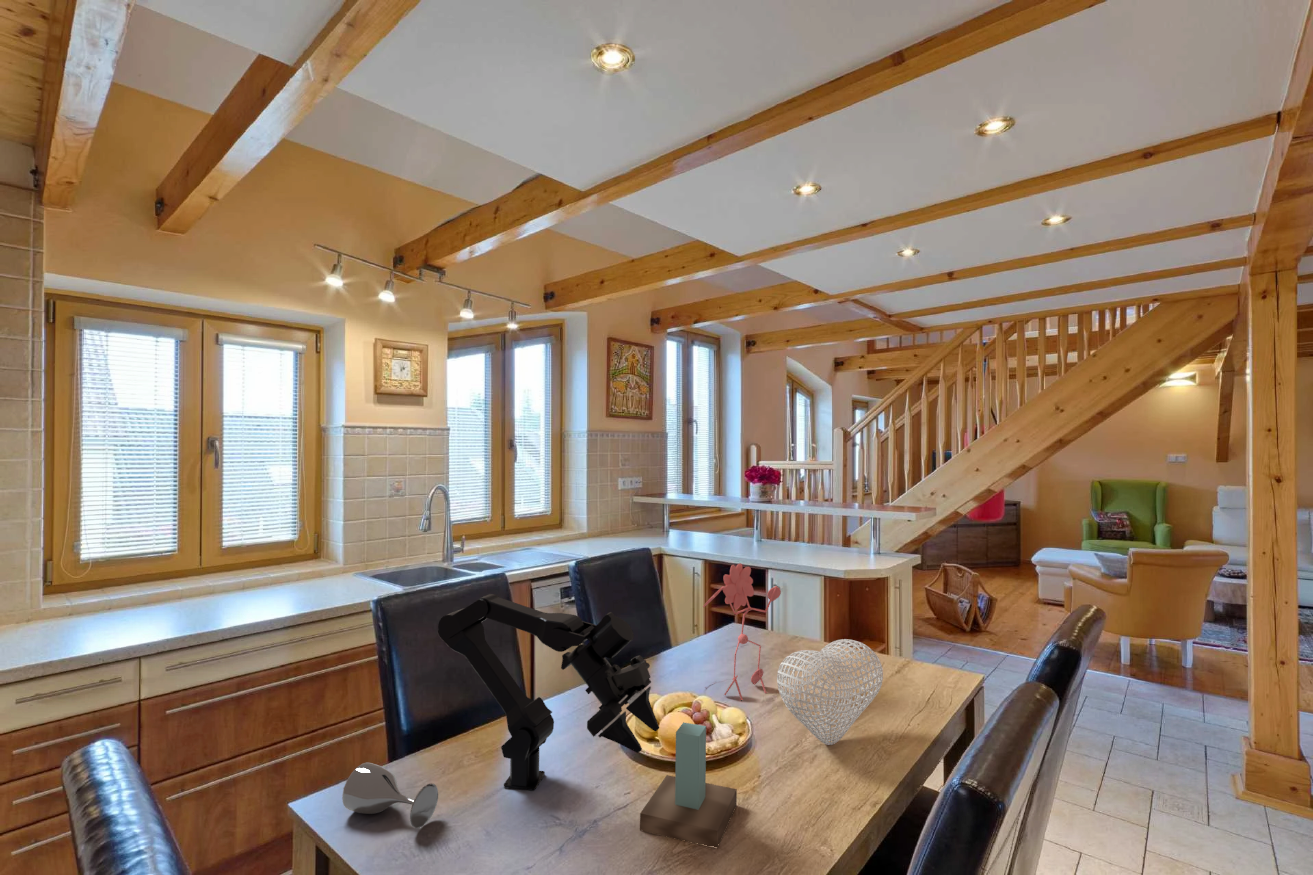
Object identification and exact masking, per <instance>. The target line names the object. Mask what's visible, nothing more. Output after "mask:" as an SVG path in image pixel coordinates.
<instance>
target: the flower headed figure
mask: <svg viewBox="0 0 1313 875" xmlns="http://www.w3.org/2000/svg"><path fill="white" fill-rule="evenodd" d="M751 572H752V569H751V567H750V566H745V567H744V568H743V564H742V563H741V562H740V563H737V565H735V564H732V565H731V566H730V569H729V574H724V575H723V579H722V580H723V583H724V585H725V586H721V587H720V588H719V589H718V590H716V591H715V592H714V594H712V596H711V597H710V598H708V600H707V601H706V602H705V603H704V604H703V606H702V607H703V608H705V607H706V606H707V605H709V603H711V602H712V601H713V600H714V599H715V598H716V597H717V596H718V595H719V594H720V593H721V591H722V592H723V594H724V595H725V598H724V602H725V604H726V605H729V606H730V608H731V611H732V613H733V615H734V616H736V615H739V614H741V613H743V612H744V613H743V615H742V623H741V633H740V635H738V637H737V641H738V642H737V646H736V649H735V652H734V657H733V658H734V660H733V678H732V681H731V683H730V684H729V686H728V688H727V690H725V693H724V694H723V696H724V695H725V696H727V694H728V692H729V690H730V689H731V687H732V686H733V685H734V683H735V686H736V688H737V691H738V695H739V698H740V701H741V700H743V701H744V698H743V696H742V692H741V690H740V687H739V683H738V680H737V678H738V674H737V675H736V666H737V665H736V662H737V653H738V649H739V646H740V644H741V645H745V644H747V643H748V642H749V643H751V644H752V645H753V644H754V645H756V646H758V647H759V650H758V660H757V669H756V670H755V671H754V672H753V674H752V675H751V677H750V682H751V683H752V685H755V686H756V685H757V684H758V683H759V681H760V682H761V686H762V689H763V693H765V694H767V690H766V686H765V684H764V680H763V676H764V674H765V673H764V670H763V668H760V660H761V651H762V649H761V648H762V646H761V644H758V643H757V642H754V641H751V640H749V637H748V635H747V634H745V633H744V629H745V628H744V626H745V619H746V615H747V614H748V612H749V611H757V612H759V613H760V612H761V613H767V612H768V610H769V607H770V605H771V603H772V602H774V601H775V600H777V599H778V598H779V597H780V596H781V595H782V590H781V588H780V587H778V586H777V585H775V586H774V587H771V588H770V589H769V590H768V592H767V598H768V603H767V605H766V607H765V610H764V609H760V608H755V607H751V606H750V602H749V599H748V597H750V598H751V597H753V596H754V595H755V590H754V587H753V585H752V584H754V579H753V578H752V577H751V576H750V575H751ZM746 605H747V607H745V606H746ZM741 606H742V607H745V608H743V609H741V610H738V609H740V607H741ZM735 610H736V611H737V610H738V611H737V612H736V611H735Z"/></svg>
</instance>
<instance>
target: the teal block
mask: <svg viewBox="0 0 1313 875" xmlns="http://www.w3.org/2000/svg"><path fill="white" fill-rule="evenodd" d="M706 762H707V726H706V725H701V724H696V723H689V722H684V721H683V722H682V723H681V725H680V726H679V728H678V729H677V731H676V732H675V776H674V777H675V805H679V806H684V807H688V808H693V809H697V810H699V808H700V806H701V804H702V802H703V801H704V799H705V787H706V783H707V782H706V778H707V776H706V774H707V773H706V772H707V771H706V767H707V763H706Z"/></svg>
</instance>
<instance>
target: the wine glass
mask: <svg viewBox="0 0 1313 875" xmlns="http://www.w3.org/2000/svg"><path fill="white" fill-rule="evenodd" d="M398 785H399V784H398V781H397V779H396V776H395V775H394V774H393V773H392V772H391V771H390V770H388V769H387V768H385V767H383V766H382V765H379V764H376V763H372V762H363V763H361V764H360V765H358V766H357V767H356V768H355V769H353V771H351V773H350V775H349V776H348V778H347V780H346V782H345V784H344V787H343V790H342V795H341V796H342V798H341V799H342V804H343V806H344V808H345V809H347V810H348V811H351V812H353V813H358V814H365V815H375V814H379V813H382V812H383V811H385V810H387V809H388V808H389V807H391V806H392V805H394V804H396V803H397V804H398V803H399V804H400V803H402V804H408V805H411V807H410V813H409V822H410V826H411V827H412V828H414V829H417V830H420V829H421V828H423V827H424V826H425V825H426V824H427V823H428V822H429V821H430V820H431V818H432V817H433V815H434V813H435V811H436V808H437V805H438V800H439V790H438V787H437V785H436V784H435V783H427V784H425V785H424V786H423V787H422V788H421V789H420V790H419V791H418V793H417V794H416V796H415V798H414V799H413V798H410V797H408V796H406V795H404V794H402V793H401V791H400V789H399V786H398ZM424 824H425V825H424ZM423 825H424V826H423ZM422 826H423V827H422ZM420 827H421V828H420Z"/></svg>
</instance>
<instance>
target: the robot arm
mask: <svg viewBox="0 0 1313 875" xmlns="http://www.w3.org/2000/svg"><path fill="white" fill-rule="evenodd" d="M487 619H488V620H491V621H495V622H498V623H500V624H503V625H506V626H508V627H512V628H514V629H517V630H520V631H522V632H526V633H528V634H531V635H533V636H534V637H536V638H537V639H538V640H539V641H540V642H541V643H542V644H543V645H545V646H546V647H548V648H550V649H552V650H554V651H556V652H558V653H560V652H565V653H564V654H562V655H561V656H562V657H561V658H562V659H561V660H562V661H561V666H560V669H561V671H564V670H565V669H567V668H569V667H570V666H572V668H574V670H575V672H577V674H578V675H579V676H580V678H581V679H582V680H583V682H584V683H585V684H586V686H587V688H585V689H584V690H585V692H586V693H587V694H588V695H589V694H590V693H592V694H593V695H594V696H595V697H596V699H597V700H598V702H599V703H600V704H601V705H600V706H598V711H597V712H596V713H595V714H594V715H593V716H592V717H590V718H589V719H588V720H587V721H586V729H587V731H588V732H589V733H590V734H591V736H592V737H593V738H595V737H596V736H597V735H598V736H597V737H599V738H602V737H603V738H605V739H607V740H609V741H612V742H614V743H617V744H618V745H621V746H623V747H625V748H627V749H629V750H631V751H632V752H635V753H637V754H639V753H640V752H641V751H642V750H643V747H642V746H641V744H640V742H639V740H638V739H637V738H636V736H635V734H634V733H633V731H632V729H631V728H630V727H629V724H627V712H626V711H628V712H629V713H631V715H633V716H635V717H636V719H638V720H639V721H640V722H642V723H643V724H644V725H646V726H647V727H648V728H650V729H651V731H654V732H657V731H658V730H659V729H660V726H659V725H660V724H659V722H658V720H657V718H656V715H655V713H654V710H653V707H652V705H651V702H650V693H651V692H650V691H651V690H652V686H651V685H650V684H651V683H652V681H651V679H650V678H651V674H650V672H649V668H650V667H651V665H650V663H648V662H647V660H646V659H644V658H643V656H642V655H641V654H640V655H637V656H634V657H633V658H631V659H630V665H627V666H626V667H623V668H621V667H620V666H619V665H618V664H616V663H614V664H613V665H611V663H610V662H609V661H608V659H613V658H614V657H615V656H617V655H618V654H619V653H620V652H621V651H622V650H623V649H624V648H625V647H627V645H629V643H630V642H632V641H633V640H634V636H635V633H634V631H633V628H632V627H631V626H630V624H629V623H628V622H627V621H625V620H624V619H623V618H621V617H619V616H616V615H614V613H613V612H612V611H610V612H608V613H607V614H605V615H604V616H603V617H602V618H601V620H600V622H598V623H597V624H595V623H590V622H587V621H584V620H583V619H582V618H581V617H580V616H578V615H575V614H569V613H565V612H564V613H563V612H545V611H540V610H537V609H535V608H532V607H529V606H526V605H523V604H520V603H517V602H514V601H511V600H509V599H505V598H502V597H500V596H499V595H497V594H493V593H489V594H487V595H484V596H483V597H480V598H477V600H475V601H474V602H473V603H471V604H470V605H468V606H466V607H464V608H461V609H459V610H455V611H453V612H450V613H448V614H446V615H445V614H444V616H442V617H441V618H440V619H439V622H438V624H437V625H438V626H437V627H438V628H437V631H436V632H437V634H438V637H439V638H440V639H441V640H442V641H443V642H444V643H445V645H446V646H447V647H449V649H451V650H452V651H454V652H456V653H458V654H460V655H462V656H464V658H465V659H466V660H467V662H468V663H469V664H470V665H471V667H472V668H473V669H474V671H475V672H476V674H477V675H478V676H479V677H480V679H481V681H482V682H483V683H484V685H485V686H486V688H487V689H488V691H490V693H491V695H492V696H493V697H494V699H495V700H496V702H497V703H498V704H499V706H500V707H501V709H502V710H503V712H504V713H505V716H506V723H507V725H506V726H507V730H508V732H509V734H510V736H511V737H510V738H508V740H506V741H505V743H503V744H502V745H501V746H500V749H501V752H502V755H503V758H505V759H509V761H510V762H509V764H510V765H509V770H510V771H509V772H510V773H509V777H508V778H507V779H506V780H505V782H504V783H503V788H506V789H507V788H508V789H517V790H518V789H519V790H531V791H534V790H536V789H537V787H538V786H539V785H540V782H541V781H542V779H543V778H544V776H545V774H546V772H545V770H540V747H541V746H542V745H543V744H544V745H545V743H546V741H547V739H549V738H548V737H550V736H551V734H552V733H553V732H554V726H555V721H554V718H553V716H552V713H553V711H552V710H551V709H550V708H548V706H547V705H546V704H545V702H544V700H543V699H542V698H541V697H540V696H538V697H537V698H535V699H532V698H530V697H528V696H527V695H526V694H525V693H524V691H522V688H520V686H519V685H518V683H517V682H516V681H515V679H514V678H513V676H512V675H511V674H510V672H509V671H508V670H507V668H506V667H505V666H504V664H503V663H502V661H501V660H500V659H499V657H498V656H497V654H496V653H495V652H494V650H493V649H492V648H491V646H490V645H489V643H488V642H487V640H486V635H485V628H484V625H483V622H484V621H486V620H487ZM586 641H588V643H587V644H583V643H584V642H586ZM572 647H575V648H574V649H573V650H572V651H571V652H570V651H567V650H569V649H571V648H572ZM649 685H650V686H649ZM624 705H625V706H626V705H627V706H626V707H625V709H626V710H625V711H623V710H622V707H623V706H624ZM621 713H622V714H621Z"/></svg>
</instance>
